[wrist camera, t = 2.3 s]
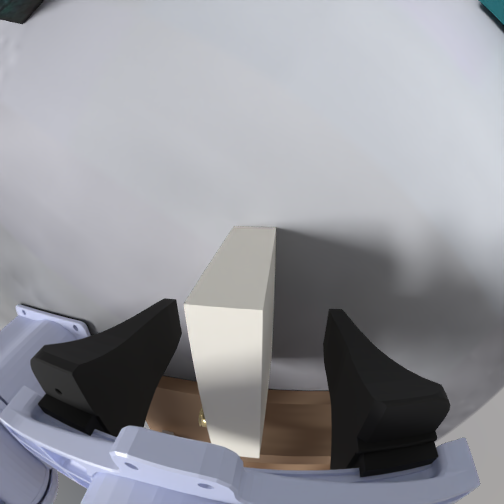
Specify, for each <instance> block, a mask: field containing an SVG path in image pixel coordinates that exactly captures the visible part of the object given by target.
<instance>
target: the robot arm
mask: <svg viewBox="0 0 504 504" xmlns="http://www.w3.org/2000/svg"><path fill="white" fill-rule="evenodd" d="M16 311H17V313H18V316H17V317H16V318H15V319H13V320H12V321H11V322H10V323H9V324H7V325H6V326H5V327H4V328H3V329H2V330H1V331H0V504H53V503H54V501H55V499H56V496H57V492H58V474H57V470H58V471H59V472H61V473H62V474H64V475H65V476H67V477H69V478H70V479H72V480H73V481H75V482H77V483H78V484H80V485H82V486H84V487H86V488H87V491H86V494H85V495H84V497H83V500H82V502H81V504H454V503H456V502H457V501H459V500H460V499H462V498H463V497H465V496H466V495H468V494H469V493H470V492H472V491H473V490H475V489H476V488H477V487H479V485H480V481H479V477H478V474H477V470H476V467H475V464H474V461H473V458H472V455H471V452H470V449H469V446H468V443H467V441H466V438H461V439H457V440H454V441H450V442H447V443H444V444H441V445H440V446H438V447H437V448H436V447H435V443H434V441H436V440H437V435H436V432H435V430H436V429H437V428H438V426H439V425H440V424H441V422H442V421H443V420H444V418H445V417H446V415H447V413H448V412H449V409H450V403H449V400H448V398H447V395H446V393H445V391H444V389H443V387H442V385H440V384H438V383H435V382H433V381H430V380H428V379H425V378H423V377H421V376H419V375H417V374H415V373H413V372H411V371H409V370H407V369H405V368H404V367H402V366H401V365H399V364H398V363H396V362H394V361H393V360H392V359H390V358H389V357H388V356H386V355H385V354H384V353H383V352H381V351H380V350H379V349H378V348H377V347H376V346H375V345H373V344H372V343H371V342H370V341H369V340H368V339H367V338H366V337H365V336H364V335H363V333H362V332H361V331H360V330H359V329H358V328H357V327H356V325H355V324H354V323H353V322H352V321H351V319H350V318H349V317H348V316H347V315H346V313H345V312H344V311H343V310H342V309H329V313H328V320H327V326H326V332H325V338H324V343H323V345H324V364H325V370H326V376H327V382H328V388H329V394H330V401H331V423H332V430H331V462H330V470H272V469H258V468H248V467H244V466H243V461H242V460H241V458H240V457H239V455H238V454H237V453H235V452H233V451H231V450H230V449H228V448H226V447H223V446H220V445H216V444H212V443H208V442H203V441H197V440H192V439H187V438H183V437H178V436H174V435H169V434H165V433H161V432H158V431H154V430H150V429H147V428H143V427H144V423H145V420H146V416H147V413H148V410H149V407H150V404H151V401H152V398H153V396H154V393H155V390H156V388H157V386H158V383H159V381H160V379H161V378H162V376H163V374H164V372H165V370H166V368H167V366H168V364H169V362H170V361H171V359H172V357H173V355H174V353H175V351H176V349H177V346H178V343H179V340H180V337H181V334H182V332H181V326H180V320H179V314H178V308H177V302H176V300H175V299H163V300H161V301H159V302H157V303H155V304H154V305H152V306H150V307H149V308H147V309H146V310H144V311H142V312H141V313H139V314H137V315H136V316H134V317H132V318H130V319H128V320H126V321H125V322H123V323H121V324H119V325H117V326H115V327H113V328H111V329H108V330H106V331H103V332H101V333H98V334H95V335H92V336H91V335H90V333H89V330H88V327H87V325H86V324H85V323H84V322H82V321H78V320H74V319H70V318H66V317H62V316H59V315H55V314H51V313H47V312H44V311H40V310H37V309H34V308H30V307H27V306H24V305H20V304H18V305H16Z"/></svg>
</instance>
